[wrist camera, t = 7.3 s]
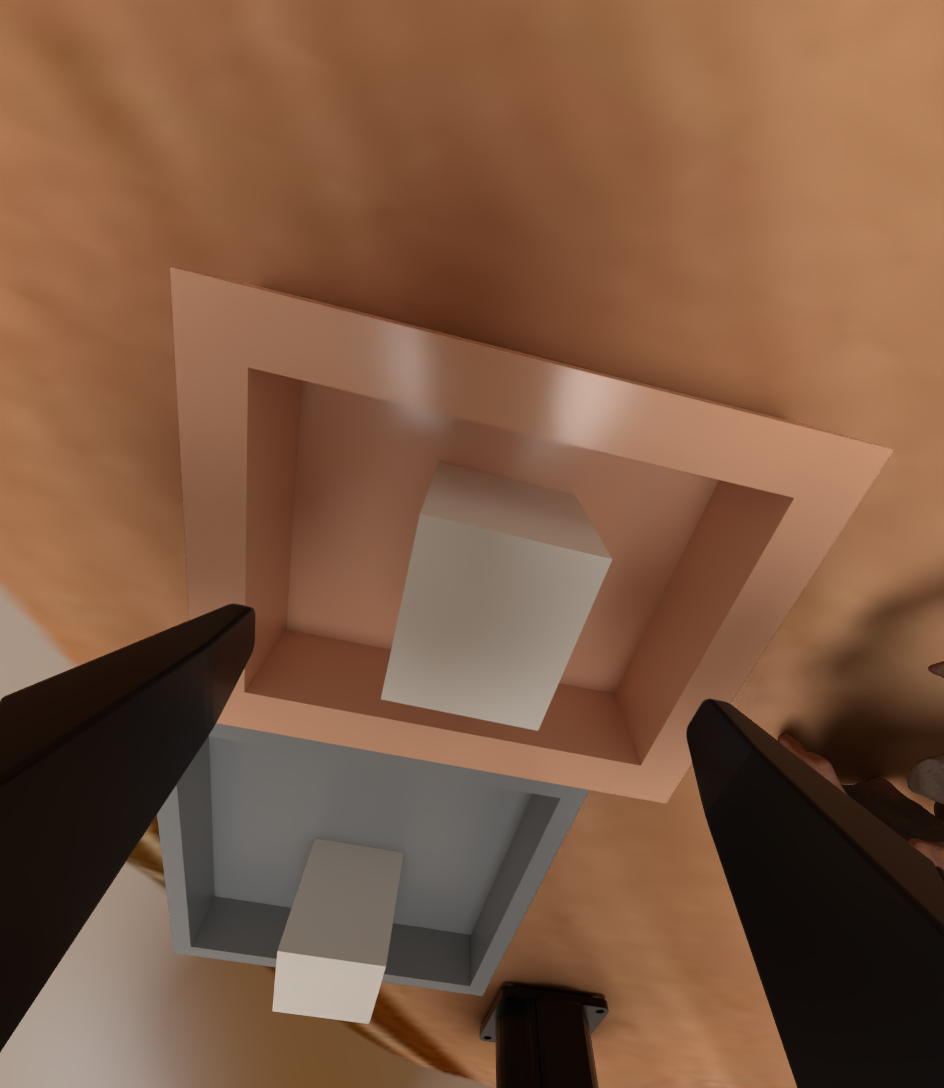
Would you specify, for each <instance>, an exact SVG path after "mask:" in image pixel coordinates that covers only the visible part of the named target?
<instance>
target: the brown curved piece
mask: <svg viewBox="0 0 944 1088" xmlns="http://www.w3.org/2000/svg"><path fill="white" fill-rule="evenodd" d="M928 670H929V671H930V672H932V673H933V674H936V675H939V676H941V677H943V678H944V661H943V662H940V663H936V664H933V665H930V666H929V667H928ZM779 742H780V743H781V744H782V745H784V746H785V747H786V748H788V749H789V750H790V751H791V752H793V753H794V754H795V755H797V756H798V757H799V758H800V759H802V760H803V761H804V762H806V763H807V764H808V765H809V766H811V767H812V768H813V769H815V770H816V771H817V772H818V773H820V774H821V775H822V776H824V777H825V778H826V779H827V780H829V781H830V782H831V783H833V784H834V785H835V786H836V787H838V788H839V789H840V790H842V791H843V792H844V793H845V794H847V795H848V796H849V797H851V798H852V799H853V800H854V801H856V802H857V803H858V804H860V805H861V806H862V807H863V808H865V809H866V810H867V811H869V812H870V813H871V814H872V815H874V816H875V817H876V818H877V819H879V820H880V821H881V822H883V823H884V824H885V825H886V826H888V827H889V828H890V829H892V830H893V831H894V832H895V833H897V834H898V835H899V836H901V837H902V838H903V839H904V840H906V841H907V842H908V843H910V844H911V845H912V846H913V847H915V848H916V849H917V850H919V851H920V852H921V853H922V854H924V855H925V856H926V857H928V858H929V859H930V860H931V861H933V863H934V864H935V866H939V867H941V868H942V869H943V870H944V753H942V754H940V755H938V756H935V757H930V758H926V759H923V760H920V761H919V762H917V763H916V764H915V765H914V766H913V768H912V769H911V773H910V775H909V777H908V780H907V783H908V787H909V789H910V790H911V791H912V792H914V793H917V794H920V795H923V796H925V797H928V798H930V799H932V800H934V801H936V802H935V804H934V814H935V816H934V815H933V814H931V813H930V812H929V811H927V810H926V809H924V808H923V807H922V806H921V805H919V804H918V803H916V802H914V801H912V800H910V799H909V798H907V797H906V796H905V795H903V794H902V793H901V792H900V791H899V790H897V789H896V788H895V787H894V786H893V785H892V784H891V783H890V782H889V781H887V780H886V779H884V778H882V777H876V778H873V779H871V780H868V781H866V782H864V783H857V784H854V785H842V784H841V783H840V781H839V779H838V777H837V776H836V773H835V771H834V769H833V767H832V765H831V763H830V762H829V761H828V760H827V759H826V758H824V757H822V756H820V755H818V754H815V753H811V752H807V751H806V749H805V748H804V747H803V746H802V745H801V744H800V743H799V742H798V741H797V740H796V739H794V738H793V737H792V736H790V735H788V734H782V735H780V736H779Z"/></svg>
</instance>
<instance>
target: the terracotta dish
mask: <svg viewBox="0 0 944 1088" xmlns="http://www.w3.org/2000/svg"><path fill="white" fill-rule="evenodd" d="M170 277H171V296H172V314H173V332H174V350H175V369H176V387H177V405H178V423H179V442H180V460H181V478H182V496H183V515H184V533H185V551H186V569H187V588H188V606H189V620H192V619H194V618H196V617H199V616H201V615H204V614H206V613H209V612H211V611H213V610H216V609H218V608H221V607H223V606H226V605H228V604H232V603H234V604H240V605H245V606H250V607H252V608H253V609H254V610H255V613H256V624H255V645H254V649H253V652H252V655H251V657H250V659H249V661H248V663H247V665H246V667H245V668H244V670H243V672H242V674H241V676H240V678H239V680H238V682H237V684H236V686H235V688H234V690H233V692H232V694H231V696H230V698H229V700H228V702H227V704H226V706H225V707H224V709H223V711H222V713H221V715H220V717H219V719H218V721H217V723H219V724H224V725H230V726H236V727H241V728H247V729H252V730H258V731H263V732H269V733H275V734H280V735H286V736H291V737H297V738H303V739H308V740H314V741H319V742H325V743H330V744H336V745H342V746H347V747H353V748H358V749H364V750H370V751H375V752H381V753H386V754H392V755H397V756H403V757H409V758H414V759H420V760H425V761H431V762H437V763H442V764H448V765H453V766H459V767H464V768H470V769H476V770H481V771H487V772H492V773H498V774H504V775H509V776H515V777H520V778H526V779H531V780H537V781H543V782H548V783H554V784H559V785H565V786H571V787H576V788H582V789H587V790H593V791H598V792H604V793H610V794H615V795H621V796H626V797H632V798H638V799H643V800H649V801H654V802H660V803H665V804H666V803H667V801H668V800H669V798H670V797H671V795H672V793H673V792H674V790H675V789H676V787H677V786H678V784H679V783H680V781H681V779H682V778H683V776H684V775H685V773H686V772H687V770H688V769H689V767H690V766H691V764H692V759H691V755H690V751H689V747H688V743H687V738H686V731H687V727H688V725H689V723H690V721H691V720H692V718H693V716H694V715H695V713H696V711H697V710H698V708H699V706H700V705H701V703H702V702H703V701H704V700H706V699H715V700H720V701H725V702H728V703H731V702H732V700H733V699H734V697H735V696H736V694H737V693H738V691H739V689H740V688H741V686H742V685H743V683H744V682H745V680H746V679H747V677H748V675H749V674H750V672H751V671H752V669H753V668H754V666H755V665H756V663H757V661H758V660H759V658H760V657H761V655H762V654H763V652H764V651H765V649H766V647H767V646H768V644H769V643H770V641H771V640H772V638H773V637H774V635H775V634H776V632H777V630H778V629H779V627H780V626H781V624H782V623H783V621H784V620H785V618H786V616H787V615H788V613H789V612H790V610H791V609H792V607H793V606H794V604H795V602H796V601H797V599H798V598H799V596H800V595H801V593H802V592H803V590H804V588H805V587H806V585H807V584H808V582H809V581H810V579H811V578H812V576H813V574H814V573H815V571H816V570H817V568H818V567H819V565H820V564H821V562H822V561H823V559H824V557H825V556H826V554H827V553H828V551H829V550H830V548H831V547H832V545H833V543H834V542H835V540H836V539H837V537H838V536H839V534H840V533H841V531H842V529H843V528H844V526H845V525H846V523H847V522H848V520H849V519H850V517H851V515H852V514H853V512H854V511H855V509H856V508H857V506H858V505H859V503H860V501H861V500H862V498H863V497H864V495H865V494H866V492H867V491H868V489H869V488H870V486H871V484H872V483H873V481H874V480H875V478H876V477H877V475H878V474H879V472H880V470H881V469H882V467H883V466H884V464H885V463H886V461H887V460H888V458H889V456H890V455H891V453H892V452H893V449H890V448H886V447H883V446H879V445H875V444H872V443H868V442H865V441H861V440H858V439H854V438H851V437H847V436H843V435H840V434H836V433H833V432H829V431H826V430H822V429H819V428H815V427H811V426H808V425H804V424H801V423H797V422H794V421H790V420H786V419H783V418H779V417H775V416H771V415H767V414H763V413H759V412H755V411H751V410H747V409H743V408H739V407H735V406H731V405H727V404H723V403H719V402H715V401H711V400H707V399H704V398H700V397H696V396H692V395H688V394H684V393H680V392H676V391H672V390H668V389H664V388H660V387H656V386H652V385H648V384H644V383H640V382H636V381H632V380H628V379H624V378H621V377H617V376H613V375H609V374H605V373H601V372H597V371H593V370H589V369H585V368H581V367H577V366H573V365H569V364H565V363H561V362H557V361H553V360H549V359H545V358H541V357H538V356H534V355H530V354H526V353H522V352H518V351H514V350H510V349H506V348H502V347H498V346H494V345H490V344H486V343H482V342H478V341H474V340H470V339H466V338H462V337H458V336H455V335H451V334H447V333H443V332H439V331H435V330H431V329H427V328H423V327H419V326H415V325H411V324H407V323H403V322H399V321H395V320H391V319H387V318H383V317H379V316H375V315H372V314H368V313H364V312H360V311H356V310H352V309H348V308H344V307H340V306H336V305H332V304H328V303H324V302H320V301H316V300H312V299H308V298H304V297H300V296H296V295H292V294H289V293H285V292H281V291H277V290H273V289H269V288H265V287H261V286H257V285H252V284H247V283H243V282H238V281H233V280H229V279H224V278H219V277H215V276H210V275H205V274H201V273H196V272H191V271H187V270H182V269H177V268H173V267H170ZM438 461H440V462H444V463H448V464H452V465H456V466H460V467H465V468H469V469H473V470H477V471H481V472H485V473H489V474H493V475H497V476H501V477H505V478H509V479H513V480H517V481H521V482H525V483H529V484H533V485H537V486H541V487H545V488H549V489H553V490H557V491H561V492H565V493H569V494H573V495H576V497H577V498H578V500H579V502H580V504H581V505H582V507H583V509H584V511H585V512H586V514H587V516H588V518H589V519H590V521H591V523H592V524H593V526H594V528H595V530H596V531H597V533H598V535H599V537H600V538H601V540H602V542H603V544H604V545H605V547H606V549H607V551H608V552H609V554H610V556H611V558H612V561H611V564H610V566H609V568H608V571H607V573H606V575H605V578H604V580H603V582H602V585H601V587H600V589H599V591H598V594H597V596H596V598H595V601H594V603H593V605H592V608H591V610H590V612H589V615H588V617H587V619H586V622H585V624H584V626H583V628H582V631H581V633H580V635H579V638H578V640H577V642H576V645H575V647H574V649H573V652H572V654H571V656H570V658H569V661H568V663H567V665H566V668H565V670H564V672H563V675H562V677H561V679H560V682H559V684H558V686H557V689H556V691H555V693H554V695H553V698H552V700H551V702H550V705H549V707H548V709H547V712H546V714H545V716H544V719H543V721H542V723H541V725H540V728H539V730H538V731H536V730H531V729H526V728H521V727H516V726H511V725H506V724H501V723H496V722H492V721H487V720H482V719H477V718H472V717H467V716H462V715H457V714H452V713H447V712H442V711H437V710H432V709H427V708H422V707H417V706H412V705H407V704H402V703H397V702H392V701H387V700H382V699H381V696H382V691H383V686H384V682H385V677H386V672H387V667H388V663H389V658H390V653H391V648H392V644H393V639H394V634H395V630H396V625H397V620H398V615H399V611H400V606H401V601H402V596H403V592H404V587H405V582H406V577H407V573H408V568H409V563H410V558H411V554H412V549H413V544H414V540H415V535H416V530H417V525H418V521H419V516H420V512H421V509H422V506H423V504H424V501H425V498H426V495H427V492H428V490H429V487H430V484H431V481H432V478H433V476H434V473H435V470H436V467H437V464H438Z"/></svg>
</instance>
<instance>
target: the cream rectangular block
mask: <svg viewBox="0 0 944 1088" xmlns="http://www.w3.org/2000/svg"><path fill="white" fill-rule="evenodd" d="M611 561H612V558H611V556H610V554H609V552H608V551H607V549H606V547H605V545H604V544H603V542H602V540H601V538H600V537H599V535H598V533H597V531H596V530H595V528H594V526H593V524H592V523H591V521H590V519H589V518H588V516H587V514H586V512H585V511H584V509H583V507H582V505H581V504H580V502H579V500H578V498H577V497H576V495H573V494H569V493H565V492H561V491H557V490H553V489H549V488H545V487H541V486H537V485H533V484H529V483H525V482H521V481H517V480H513V479H509V478H505V477H501V476H497V475H493V474H489V473H485V472H481V471H477V470H473V469H469V468H465V467H460V466H456V465H452V464H448V463H444V462H440V461H438V464H437V467H436V470H435V473H434V476H433V478H432V481H431V484H430V487H429V490H428V492H427V495H426V498H425V501H424V504H423V506H422V509H421V512H420V516H419V521H418V525H417V530H416V535H415V540H414V544H413V549H412V554H411V558H410V563H409V568H408V573H407V577H406V582H405V587H404V592H403V596H402V601H401V606H400V611H399V615H398V620H397V625H396V630H395V634H394V639H393V644H392V648H391V653H390V658H389V663H388V667H387V672H386V677H385V682H384V686H383V691H382V696H381V699H382V700H387V701H392V702H397V703H402V704H407V705H412V706H417V707H422V708H427V709H432V710H437V711H442V712H447V713H452V714H457V715H462V716H467V717H472V718H477V719H482V720H487V721H492V722H496V723H501V724H506V725H511V726H516V727H521V728H526V729H531V730H536V731H538V730H539V728H540V725H541V723H542V721H543V719H544V716H545V714H546V712H547V709H548V707H549V705H550V702H551V700H552V698H553V695H554V693H555V691H556V689H557V686H558V684H559V682H560V679H561V677H562V675H563V672H564V670H565V668H566V665H567V663H568V661H569V658H570V656H571V654H572V652H573V649H574V647H575V645H576V642H577V640H578V638H579V635H580V633H581V631H582V628H583V626H584V624H585V622H586V619H587V617H588V615H589V612H590V610H591V608H592V605H593V603H594V601H595V598H596V596H597V594H598V591H599V589H600V587H601V585H602V582H603V580H604V578H605V575H606V573H607V571H608V568H609V566H610V564H611Z"/></svg>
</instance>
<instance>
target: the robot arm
mask: <svg viewBox="0 0 944 1088" xmlns="http://www.w3.org/2000/svg"><path fill="white" fill-rule="evenodd" d="M255 624H256V613H255V610H254V609H253V608H252V607H250V606H245V605H240V604H234V603H232V604H228V605H226V606H223V607H221V608H218V609H216V610H213V611H211V612H209V613H206V614H204V615H201V616H199V617H196V618H194V619H192V620H189V621H187V622H184V623H182V624H179V625H177V626H175V627H172V628H170V629H167V630H165V631H162V632H160V633H157V634H155V635H153V636H150V637H148V638H145V639H143V640H140V641H138V642H136V643H133V644H131V645H128V646H126V647H123V648H121V649H119V650H116V651H114V652H111V653H109V654H106V655H104V656H102V657H99V658H97V659H94V660H92V661H89V662H87V663H85V664H82V665H80V666H77V667H75V668H72V669H70V670H68V671H65V672H63V673H61V674H58V675H55V676H53V677H51V678H48V679H46V680H43V681H41V682H38V683H36V684H34V685H31V686H29V687H26V688H24V689H21V690H19V691H17V692H14V693H12V694H9V695H7V696H5V697H3V698H2V699H1V701H0V1052H1V1050H2V1049H3V1047H4V1046H5V1044H6V1043H7V1041H8V1040H9V1038H10V1037H11V1035H12V1034H13V1032H14V1031H15V1029H16V1027H17V1026H18V1025H19V1023H20V1021H21V1020H22V1018H23V1017H24V1015H25V1014H26V1012H27V1011H28V1009H29V1008H30V1006H31V1005H32V1003H33V1002H34V1000H35V999H36V997H37V996H38V994H39V993H40V991H41V990H42V988H43V987H44V985H45V984H46V982H47V981H48V979H49V977H50V976H51V974H52V973H53V971H54V970H55V968H56V967H57V965H58V963H59V962H60V961H61V959H62V958H63V956H64V955H65V953H66V951H67V950H68V949H69V947H70V945H71V944H72V943H73V941H74V940H75V938H76V937H77V935H78V933H79V932H80V930H81V929H82V927H83V926H84V924H85V923H86V921H87V920H88V918H89V917H90V915H91V914H92V912H93V911H94V909H95V908H96V906H97V905H98V903H99V902H100V900H101V898H102V897H103V896H104V894H105V893H106V891H107V889H108V888H109V886H110V885H111V883H112V882H113V880H114V879H115V877H116V876H117V874H118V873H119V871H120V870H121V868H122V867H123V865H124V864H125V862H126V861H127V859H128V858H129V856H130V855H131V853H132V852H133V850H134V849H135V847H136V845H137V844H138V842H139V841H140V839H141V838H142V836H143V835H144V833H145V832H146V830H147V829H148V827H149V826H150V824H151V823H152V821H153V820H154V818H155V817H156V815H157V814H158V812H159V811H160V809H161V808H162V806H163V805H164V803H165V801H166V800H167V798H168V797H169V795H170V794H171V792H172V791H173V789H174V788H175V786H176V785H177V783H178V782H179V780H180V779H181V777H182V776H183V774H184V773H185V771H186V770H187V768H188V767H189V765H190V764H191V762H192V761H193V759H194V757H195V756H196V754H197V753H198V751H199V750H200V748H201V747H202V745H203V744H204V742H205V741H206V739H207V738H208V736H209V734H210V733H211V731H212V730H213V728H214V726H215V724H216V723H217V721H218V719H219V717H220V715H221V713H222V711H223V709H224V707H225V706H226V704H227V702H228V700H229V698H230V696H231V694H232V692H233V690H234V688H235V686H236V684H237V682H238V680H239V678H240V676H241V674H242V672H243V670H244V668H245V667H246V665H247V663H248V661H249V659H250V657H251V655H252V652H253V649H254V645H255ZM686 738H687V743H688V747H689V751H690V755H691V759H692V764H693V768H694V772H695V776H696V780H697V784H698V789H699V793H700V797H701V801H702V805H703V809H704V812H705V816H706V819H707V822H708V826H709V829H710V832H711V835H712V838H713V840H714V843H715V846H716V849H717V852H718V855H719V858H720V861H721V864H722V867H723V870H724V873H725V876H726V879H727V882H728V885H729V888H730V891H731V893H732V896H733V899H734V902H735V905H736V908H737V911H738V914H739V917H740V920H741V923H742V926H743V929H744V932H745V935H746V938H747V941H748V944H749V946H750V949H751V952H752V955H753V958H754V961H755V964H756V967H757V970H758V973H759V976H760V979H761V982H762V985H763V988H764V991H765V994H766V997H767V999H768V1002H769V1005H770V1008H771V1011H772V1014H773V1017H774V1020H775V1023H776V1026H777V1029H778V1032H779V1035H780V1038H781V1041H782V1044H783V1047H784V1050H785V1052H786V1055H787V1058H788V1061H789V1064H790V1067H791V1070H792V1073H793V1076H794V1079H795V1082H796V1085H797V1088H944V870H943V869H942V868H941V867H939V866H935V864H934V863H933V861H931V860H930V859H929V858H928V857H926V856H925V855H924V854H922V853H921V852H920V851H919V850H917V849H916V848H915V847H913V846H912V845H911V844H910V843H908V842H907V841H906V840H904V839H903V838H902V837H901V836H899V835H898V834H897V833H895V832H894V831H893V830H892V829H890V828H889V827H888V826H886V825H885V824H884V823H883V822H881V821H880V820H879V819H877V818H876V817H875V816H874V815H872V814H871V813H870V812H869V811H867V810H866V809H865V808H863V807H862V806H861V805H860V804H858V803H857V802H856V801H854V800H853V799H852V798H851V797H849V796H848V795H847V794H845V793H844V792H843V791H842V790H840V789H839V788H838V787H836V786H835V785H834V784H833V783H831V782H830V781H829V780H827V779H826V778H825V777H824V776H822V775H821V774H820V773H818V772H817V771H816V770H815V769H813V768H812V767H811V766H809V765H808V764H807V763H806V762H804V761H803V760H802V759H800V758H799V757H798V756H797V755H795V754H794V753H793V752H791V751H790V750H789V749H788V748H786V747H785V746H784V745H782V744H781V743H780V742H779V741H777V740H776V739H775V738H773V737H772V736H771V735H770V734H768V733H767V732H766V731H764V730H763V729H762V728H761V727H759V726H758V725H757V724H755V723H754V722H753V721H752V720H750V719H749V718H748V717H746V716H745V715H744V714H743V713H741V712H740V711H739V710H737V709H736V708H735V707H734V706H732V705H731V704H730V703H728V702H725V701H720V700H715V699H706V700H704V701H703V702H702V703H701V705H700V706H699V708H698V710H697V711H696V713H695V715H694V716H693V718H692V720H691V721H690V723H689V725H688V727H687V731H686ZM608 1012H609V1010H608V1005H607V1001H606V1000H604V999H600V998H593V997H586V996H579V995H572V994H565V993H558V992H551V991H544V990H537V989H530V988H523V987H516V986H505V987H503V988H502V989H501V990H500V992H499V994H498V996H497V998H496V999H495V1001H494V1003H493V1005H492V1007H491V1008H490V1010H489V1012H488V1014H487V1016H486V1018H485V1019H484V1021H483V1023H482V1025H481V1027H480V1039H481V1040H483V1041H489V1042H496V1088H599V1087H598V1081H597V1074H596V1068H595V1061H594V1054H593V1048H592V1041H591V1035H590V1034H591V1033H592V1032H593V1031H594V1030H595V1028H596V1027H597V1026H598V1025H599V1023H600V1022H601V1021H602V1020H603V1018H604V1017H605V1016H606V1015H607V1014H608Z"/></svg>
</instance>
